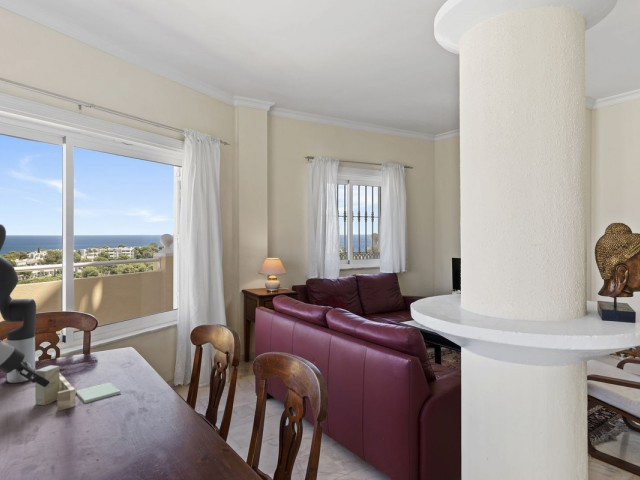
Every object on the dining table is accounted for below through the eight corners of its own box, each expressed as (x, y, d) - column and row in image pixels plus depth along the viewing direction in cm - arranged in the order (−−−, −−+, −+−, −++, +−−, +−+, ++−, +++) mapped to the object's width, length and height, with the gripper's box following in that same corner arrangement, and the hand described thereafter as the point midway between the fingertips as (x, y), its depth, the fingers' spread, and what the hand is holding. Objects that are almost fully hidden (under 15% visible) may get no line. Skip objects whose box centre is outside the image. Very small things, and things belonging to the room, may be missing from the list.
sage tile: (75, 393, 148) (75, 390, 148) (109, 384, 157) (109, 382, 156) (84, 403, 140) (84, 400, 140) (120, 393, 148) (120, 390, 148)
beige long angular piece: (44, 391, 149) (44, 375, 149) (59, 387, 153) (59, 372, 153) (58, 410, 134) (58, 393, 134) (75, 406, 137) (75, 389, 137)
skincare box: (45, 405, 137) (44, 371, 137) (34, 404, 138) (34, 370, 138) (60, 398, 144) (60, 365, 143) (50, 397, 144) (50, 364, 144)
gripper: (16, 351, 129) (58, 377, 137) (10, 343, 139) (49, 367, 147) (-4, 371, 125) (39, 396, 133) (-9, 361, 135) (32, 385, 143)
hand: (44, 381), depth 140 cm, fingers open, 8 cm apart
